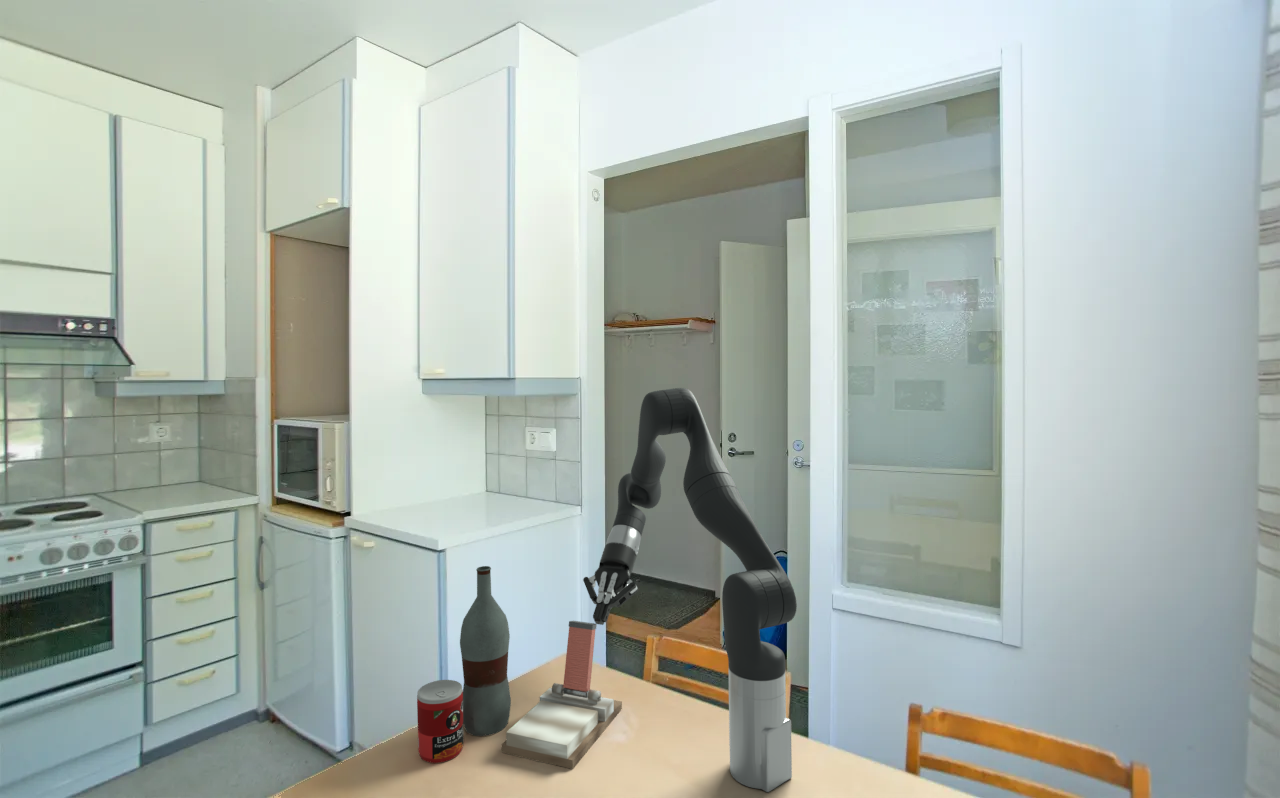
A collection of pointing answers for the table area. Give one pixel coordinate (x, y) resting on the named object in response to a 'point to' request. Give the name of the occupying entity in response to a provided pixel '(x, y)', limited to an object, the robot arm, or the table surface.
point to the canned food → (440, 720)
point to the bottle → (485, 662)
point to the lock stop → (579, 658)
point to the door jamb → (561, 727)
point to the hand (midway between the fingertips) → (598, 622)
